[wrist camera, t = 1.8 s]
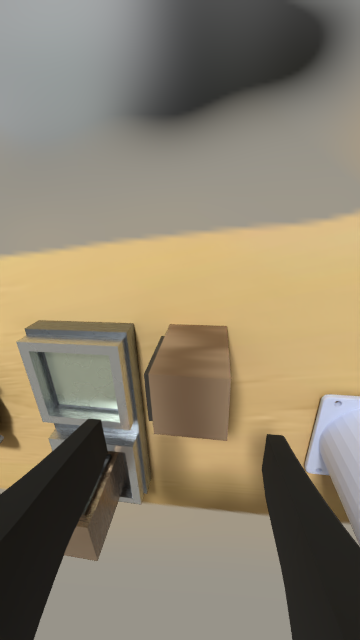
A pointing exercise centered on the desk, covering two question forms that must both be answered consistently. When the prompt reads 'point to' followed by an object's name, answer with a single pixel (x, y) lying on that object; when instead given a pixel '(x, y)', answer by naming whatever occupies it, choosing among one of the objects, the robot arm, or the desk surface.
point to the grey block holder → (92, 411)
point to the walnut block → (190, 382)
